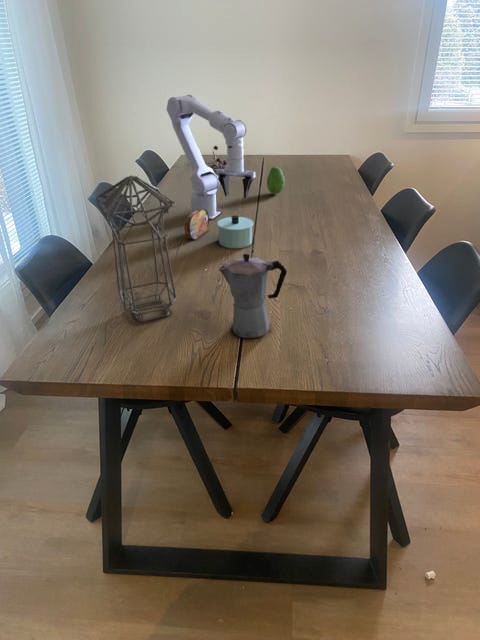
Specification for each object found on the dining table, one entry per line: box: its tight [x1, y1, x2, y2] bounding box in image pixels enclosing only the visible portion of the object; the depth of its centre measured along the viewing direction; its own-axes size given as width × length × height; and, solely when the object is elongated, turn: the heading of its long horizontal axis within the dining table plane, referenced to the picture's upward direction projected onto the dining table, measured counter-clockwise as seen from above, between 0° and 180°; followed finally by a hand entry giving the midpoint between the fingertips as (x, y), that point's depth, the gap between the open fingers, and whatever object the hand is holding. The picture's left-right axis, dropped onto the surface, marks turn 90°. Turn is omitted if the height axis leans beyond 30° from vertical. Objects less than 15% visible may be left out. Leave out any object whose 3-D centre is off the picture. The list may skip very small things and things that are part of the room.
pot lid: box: [217, 215, 254, 231], centre depth 154 cm, size 12×12×3 cm
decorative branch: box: [210, 145, 227, 171], centre depth 245 cm, size 11×9×30 cm
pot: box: [218, 226, 253, 249], centre depth 156 cm, size 11×11×6 cm
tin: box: [183, 209, 210, 240], centre depth 162 cm, size 15×3×8 cm, turn 158°
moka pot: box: [218, 253, 287, 339], centre depth 106 cm, size 10×15×20 cm, turn 95°
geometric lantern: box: [95, 175, 177, 323], centre depth 110 cm, size 16×16×35 cm
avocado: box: [266, 165, 286, 195], centre depth 200 cm, size 8×8×12 cm
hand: (236, 196), depth 168 cm, fingers open, 7 cm apart
